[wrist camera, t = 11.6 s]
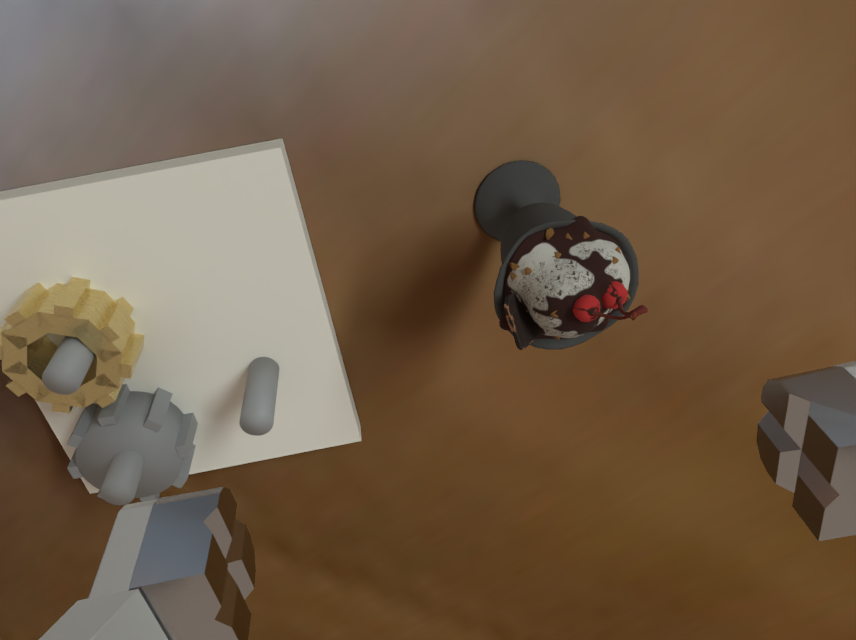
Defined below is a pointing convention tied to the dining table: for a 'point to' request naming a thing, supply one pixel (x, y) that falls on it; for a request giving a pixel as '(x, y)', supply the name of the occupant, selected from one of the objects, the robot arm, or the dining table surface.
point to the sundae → (553, 261)
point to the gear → (77, 317)
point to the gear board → (186, 316)
